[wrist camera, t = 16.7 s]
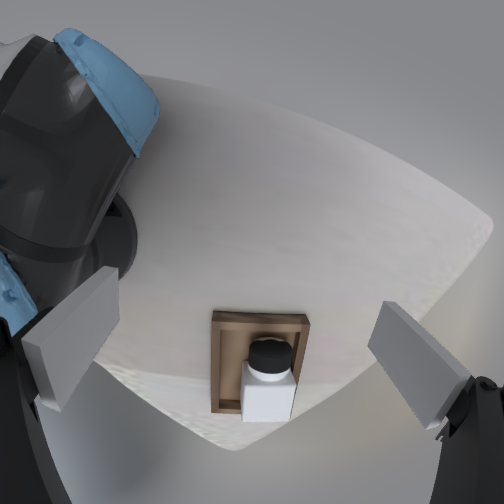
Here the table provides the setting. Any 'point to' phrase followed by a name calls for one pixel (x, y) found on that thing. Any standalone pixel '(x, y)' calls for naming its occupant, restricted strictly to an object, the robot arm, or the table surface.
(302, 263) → the table surface
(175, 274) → the table surface
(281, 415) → the medicine bottle
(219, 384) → the walnut tray
